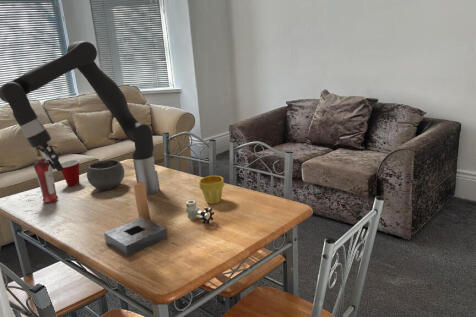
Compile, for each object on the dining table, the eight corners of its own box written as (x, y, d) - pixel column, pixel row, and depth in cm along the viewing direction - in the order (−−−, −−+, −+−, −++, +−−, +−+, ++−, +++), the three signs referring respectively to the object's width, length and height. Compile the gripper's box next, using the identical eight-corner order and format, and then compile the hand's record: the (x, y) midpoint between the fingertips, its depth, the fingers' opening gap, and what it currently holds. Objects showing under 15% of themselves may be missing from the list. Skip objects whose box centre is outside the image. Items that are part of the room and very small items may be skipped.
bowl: (111, 179, 221) (107, 156, 218) (134, 184, 211) (130, 160, 207) (82, 191, 208) (77, 166, 204) (105, 196, 197) (100, 171, 194)
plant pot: (211, 207, 174) (208, 185, 171) (196, 201, 182) (194, 180, 179) (230, 199, 180) (228, 178, 178) (215, 194, 188) (213, 173, 185)
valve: (183, 218, 166) (202, 227, 158) (180, 203, 164) (200, 210, 156) (196, 213, 170) (215, 220, 162) (194, 198, 168) (213, 205, 160)
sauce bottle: (47, 198, 201) (34, 142, 193) (61, 197, 201) (49, 141, 193) (39, 204, 194) (25, 146, 186) (55, 203, 194) (41, 145, 186)
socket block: (143, 226, 162) (142, 217, 161) (167, 238, 151) (165, 228, 149) (105, 242, 152) (103, 232, 151) (127, 256, 140) (125, 245, 139)
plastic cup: (61, 183, 222) (57, 162, 219) (83, 179, 226) (78, 158, 222) (62, 189, 212) (57, 167, 209) (84, 185, 216) (80, 163, 213)
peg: (146, 215, 172) (140, 181, 167) (152, 218, 169) (146, 183, 164) (137, 219, 169) (131, 184, 165) (142, 222, 166) (136, 187, 161)
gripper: (48, 128, 153) (71, 165, 159) (41, 127, 165) (62, 163, 170) (29, 137, 150) (53, 176, 155) (22, 136, 161) (45, 172, 167)
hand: (58, 169), depth 163 cm, fingers open, 8 cm apart
